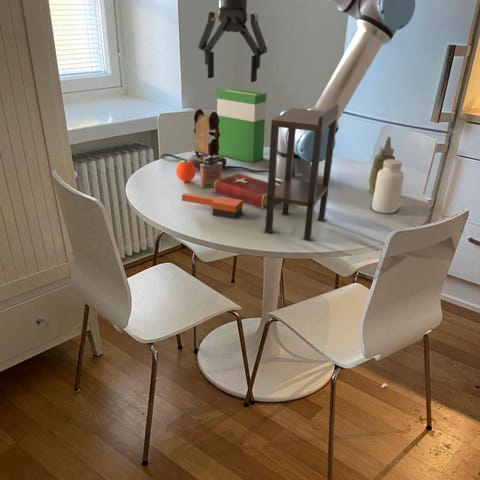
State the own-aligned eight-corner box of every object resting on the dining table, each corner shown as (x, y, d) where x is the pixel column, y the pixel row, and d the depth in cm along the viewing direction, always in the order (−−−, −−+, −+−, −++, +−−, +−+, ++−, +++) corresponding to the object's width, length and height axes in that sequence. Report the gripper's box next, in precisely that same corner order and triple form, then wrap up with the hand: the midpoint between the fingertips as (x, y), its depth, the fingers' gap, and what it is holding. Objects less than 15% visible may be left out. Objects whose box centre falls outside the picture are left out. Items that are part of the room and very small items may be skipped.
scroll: (179, 167, 194) (177, 110, 182) (203, 159, 204) (202, 104, 192) (210, 175, 187) (210, 116, 176) (234, 166, 197) (234, 110, 186)
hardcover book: (262, 208, 160) (263, 195, 158) (214, 192, 172) (214, 180, 169) (285, 199, 168) (286, 186, 166) (237, 184, 179) (238, 172, 177)
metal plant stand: (265, 232, 145) (272, 111, 127) (283, 212, 158) (292, 100, 140) (309, 240, 141) (322, 116, 123) (324, 219, 154) (339, 104, 136)
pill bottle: (368, 205, 166) (376, 157, 157) (392, 204, 166) (401, 157, 158) (375, 214, 159) (384, 165, 150) (400, 213, 160) (411, 165, 151)
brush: (179, 209, 159) (178, 196, 156) (187, 203, 163) (187, 190, 161) (235, 219, 153) (236, 206, 151) (242, 212, 157) (243, 200, 155)
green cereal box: (217, 154, 210) (217, 90, 196) (228, 150, 215) (228, 87, 201) (252, 162, 202) (255, 95, 188) (263, 158, 207) (266, 93, 193)
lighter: (202, 188, 175) (202, 158, 169) (198, 185, 177) (198, 156, 171) (224, 185, 178) (224, 156, 172) (219, 182, 180) (219, 153, 175)
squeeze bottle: (391, 196, 173) (402, 141, 162) (366, 194, 174) (376, 139, 163) (390, 189, 179) (400, 135, 169) (366, 187, 180) (376, 133, 170)
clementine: (170, 182, 180) (168, 161, 176) (179, 176, 185) (178, 156, 181) (190, 185, 177) (189, 164, 173) (199, 179, 183) (198, 159, 178)
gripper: (185, -11, 138) (187, 77, 150) (272, -8, 130) (267, 84, 143) (197, -11, 144) (199, 74, 156) (281, -8, 136) (276, 81, 148)
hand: (231, 79), depth 149 cm, fingers open, 13 cm apart
